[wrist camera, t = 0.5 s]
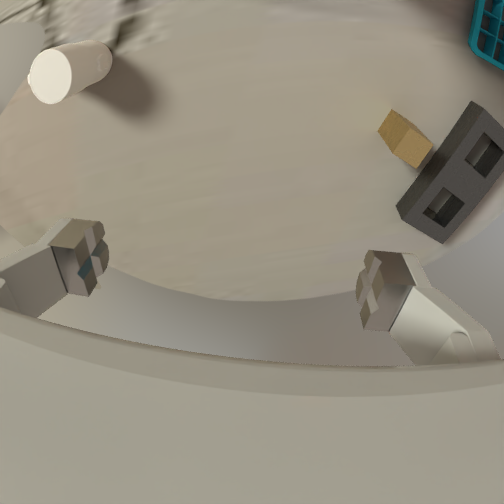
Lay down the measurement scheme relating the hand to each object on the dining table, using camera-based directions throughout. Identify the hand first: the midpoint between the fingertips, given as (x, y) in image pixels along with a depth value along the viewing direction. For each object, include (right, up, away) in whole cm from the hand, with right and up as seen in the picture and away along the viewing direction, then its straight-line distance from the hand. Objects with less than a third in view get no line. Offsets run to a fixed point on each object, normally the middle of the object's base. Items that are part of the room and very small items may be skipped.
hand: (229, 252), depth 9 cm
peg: (+21, +18, +30) cm, 41 cm away
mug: (-25, +29, +27) cm, 47 cm away
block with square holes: (+33, +13, +32) cm, 48 cm away
